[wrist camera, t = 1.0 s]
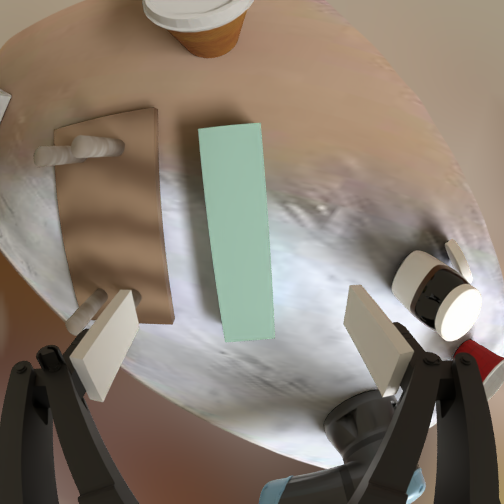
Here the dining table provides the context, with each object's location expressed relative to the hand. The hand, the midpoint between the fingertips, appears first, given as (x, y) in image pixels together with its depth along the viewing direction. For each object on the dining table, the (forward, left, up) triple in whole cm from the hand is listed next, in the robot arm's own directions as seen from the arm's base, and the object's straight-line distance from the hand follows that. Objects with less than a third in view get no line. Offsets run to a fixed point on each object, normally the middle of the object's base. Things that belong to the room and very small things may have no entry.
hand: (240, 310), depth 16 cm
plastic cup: (-24, -44, -17) cm, 53 cm away
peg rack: (+2, +16, -17) cm, 23 cm away
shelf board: (0, 0, -17) cm, 17 cm away
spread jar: (-5, -26, -17) cm, 31 cm away
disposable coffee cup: (+24, +3, -17) cm, 29 cm away
